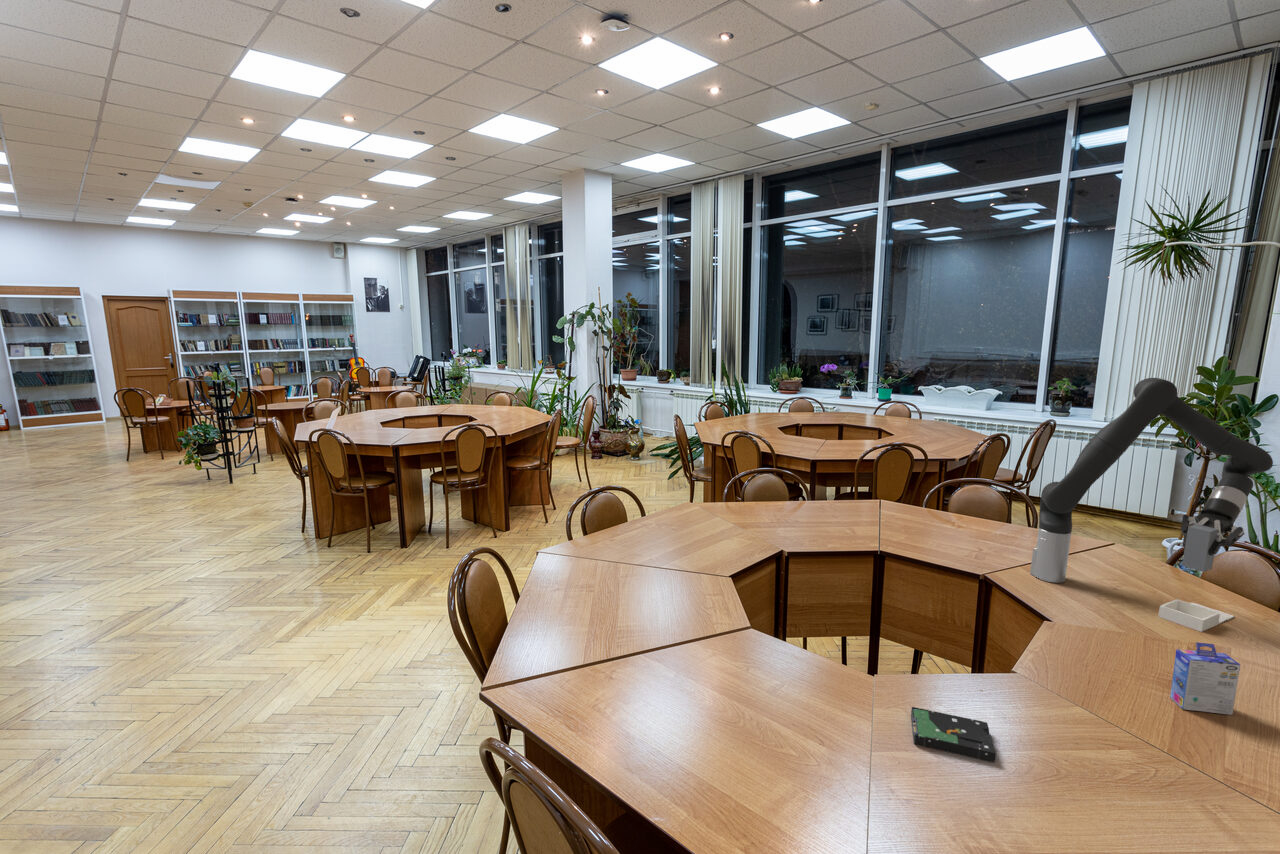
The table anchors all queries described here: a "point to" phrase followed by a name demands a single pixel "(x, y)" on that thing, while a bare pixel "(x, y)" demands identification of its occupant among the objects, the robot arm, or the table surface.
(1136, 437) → the robot arm
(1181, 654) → the ink cartridge box
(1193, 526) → the charcoal carton
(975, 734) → the disk drive
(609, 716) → the table surface
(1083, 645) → the table surface
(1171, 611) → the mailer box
